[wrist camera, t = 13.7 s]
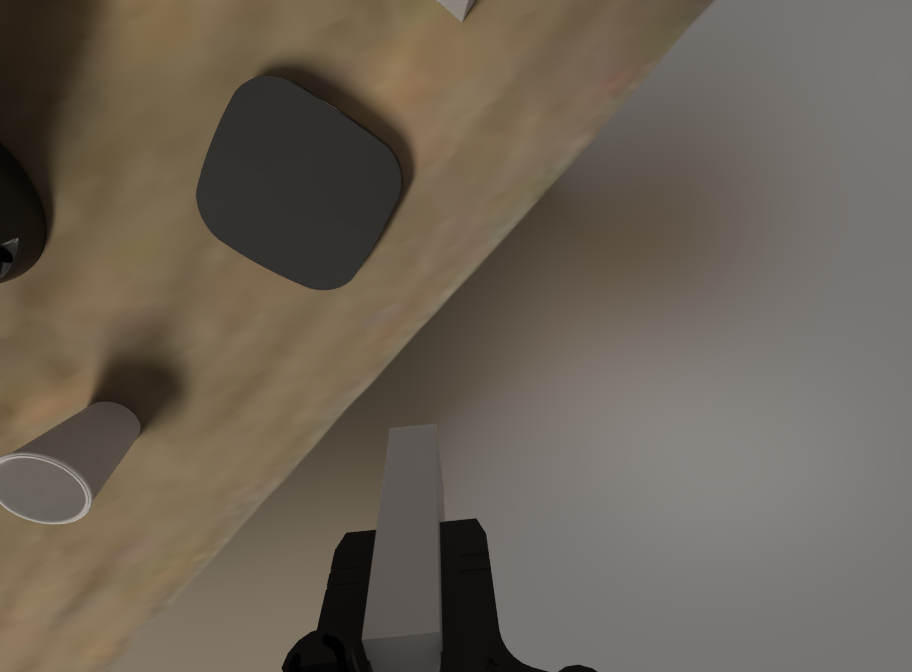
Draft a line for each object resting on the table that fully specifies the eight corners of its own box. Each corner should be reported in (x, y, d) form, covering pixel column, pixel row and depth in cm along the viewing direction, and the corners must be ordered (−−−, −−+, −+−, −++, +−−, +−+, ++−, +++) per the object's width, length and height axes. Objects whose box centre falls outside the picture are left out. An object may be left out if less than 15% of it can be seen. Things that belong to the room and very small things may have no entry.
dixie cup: (159, 455, 50) (99, 527, 41) (80, 451, 49) (1, 523, 40) (146, 393, 46) (78, 457, 37) (61, 387, 46) (-30, 451, 37)
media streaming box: (195, 216, 39) (178, 222, 37) (259, 56, 35) (245, 49, 32) (343, 296, 43) (337, 308, 41) (419, 163, 38) (418, 166, 36)
